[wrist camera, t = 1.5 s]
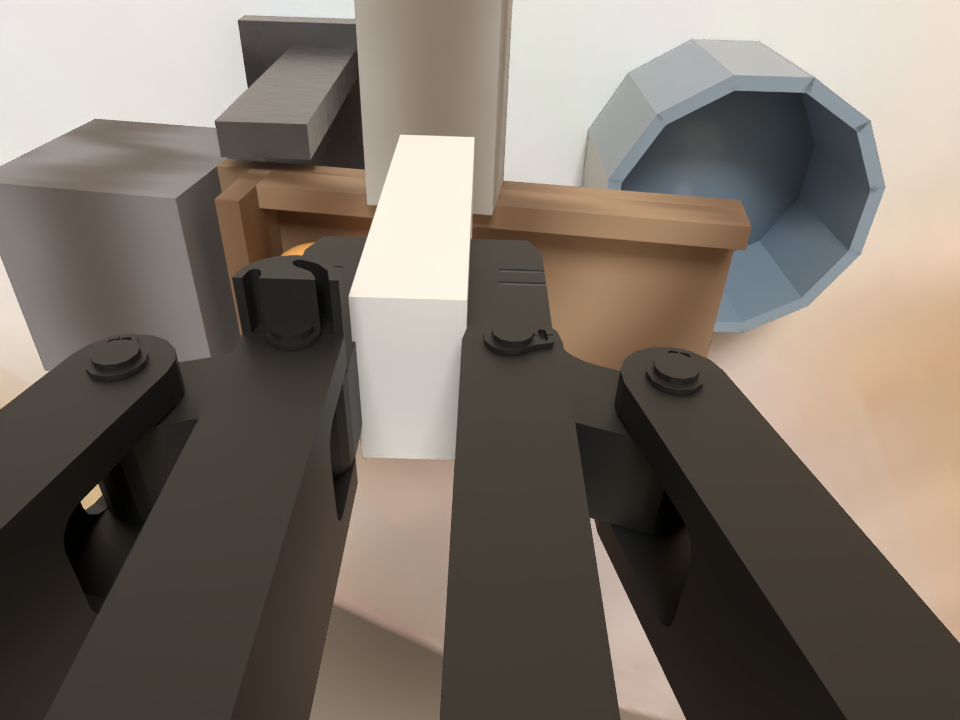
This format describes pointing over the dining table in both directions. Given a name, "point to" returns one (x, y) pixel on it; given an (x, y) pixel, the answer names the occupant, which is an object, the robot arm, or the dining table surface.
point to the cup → (747, 165)
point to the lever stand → (297, 94)
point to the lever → (345, 210)
